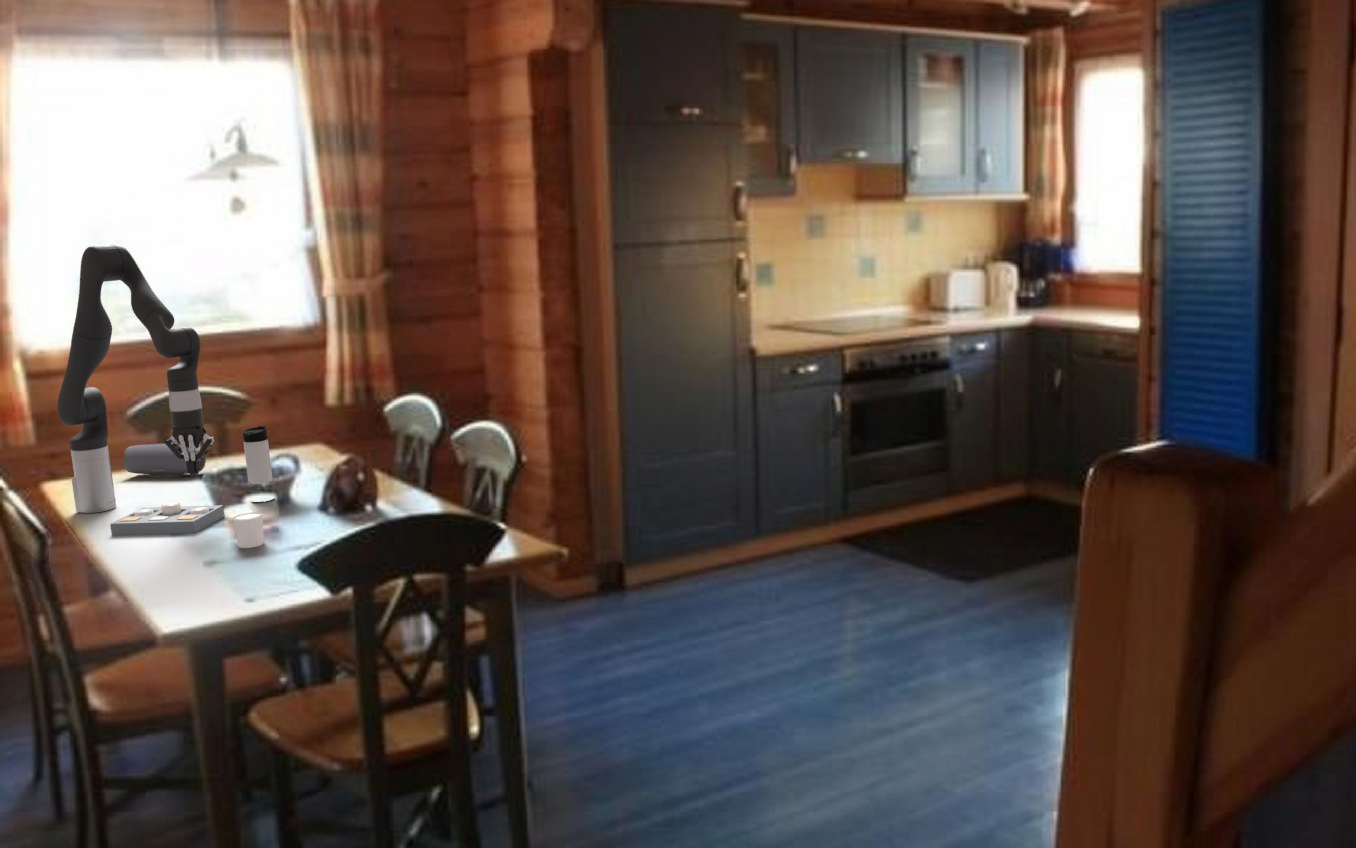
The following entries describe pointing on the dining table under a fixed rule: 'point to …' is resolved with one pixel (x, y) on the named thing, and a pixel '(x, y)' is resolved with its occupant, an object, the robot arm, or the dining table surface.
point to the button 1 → (143, 512)
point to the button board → (167, 521)
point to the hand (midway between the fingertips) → (194, 474)
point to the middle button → (171, 509)
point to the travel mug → (257, 455)
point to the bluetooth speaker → (156, 461)
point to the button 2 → (199, 510)
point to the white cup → (249, 529)
